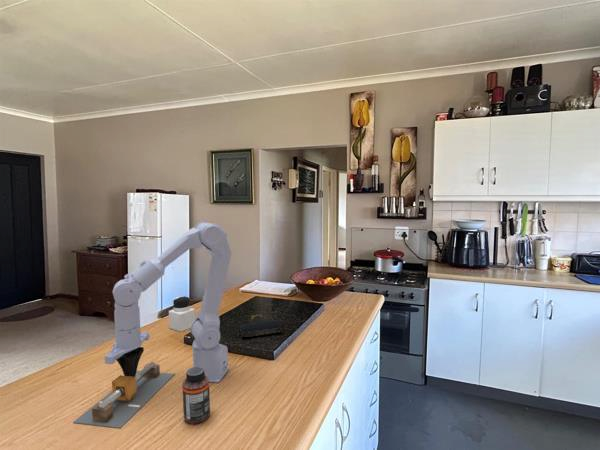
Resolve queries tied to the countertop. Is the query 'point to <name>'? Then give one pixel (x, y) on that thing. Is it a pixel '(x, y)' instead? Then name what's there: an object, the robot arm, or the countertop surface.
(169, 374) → the pipe rig
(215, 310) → the robot arm
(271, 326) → the pipe connector
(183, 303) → the medicine bottle
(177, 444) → the countertop surface
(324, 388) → the countertop surface
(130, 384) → the collar
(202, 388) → the supplement bottle
